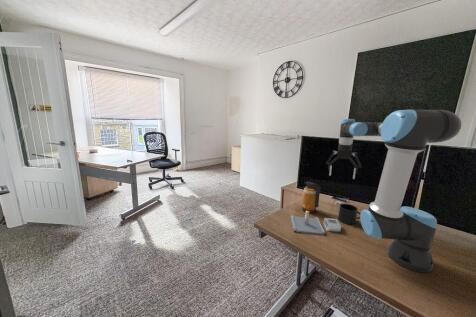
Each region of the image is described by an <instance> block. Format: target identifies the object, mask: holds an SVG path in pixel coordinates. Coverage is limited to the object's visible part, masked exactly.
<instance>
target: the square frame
mask: <svg viewBox="0 0 476 317" xmlns="http://www.w3.org/2000/svg"><path fill="white" fill-rule="evenodd" d="M323 225H324V227H325V230H326V231H327V232H334V233H335V232H336V233H341V230H342V225H341V223H340V221H339V219H338V218H329V217H324V218H323Z"/></svg>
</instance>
